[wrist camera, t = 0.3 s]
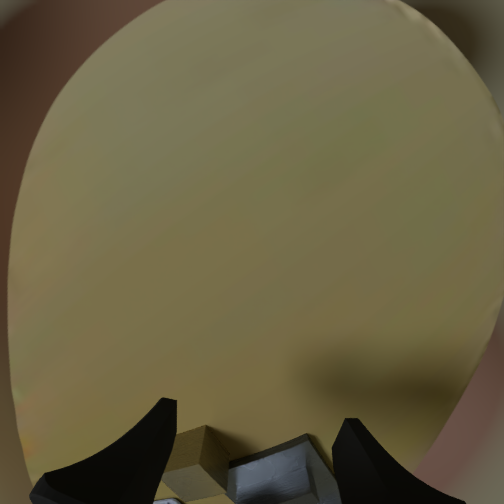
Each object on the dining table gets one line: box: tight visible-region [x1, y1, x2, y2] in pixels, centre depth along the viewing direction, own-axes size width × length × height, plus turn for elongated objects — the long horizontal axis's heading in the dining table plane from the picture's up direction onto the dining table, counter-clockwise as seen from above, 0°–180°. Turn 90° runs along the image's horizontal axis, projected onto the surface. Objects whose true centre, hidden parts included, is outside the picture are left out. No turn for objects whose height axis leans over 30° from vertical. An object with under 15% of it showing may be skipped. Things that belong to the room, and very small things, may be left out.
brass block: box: [161, 425, 230, 502], centre depth 21 cm, size 4×4×5 cm
